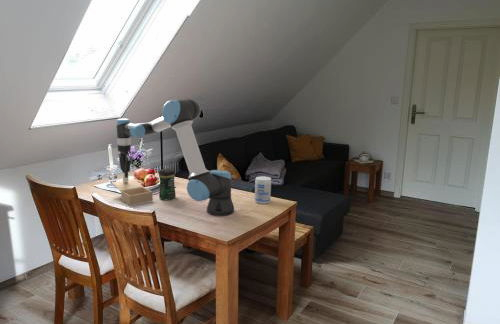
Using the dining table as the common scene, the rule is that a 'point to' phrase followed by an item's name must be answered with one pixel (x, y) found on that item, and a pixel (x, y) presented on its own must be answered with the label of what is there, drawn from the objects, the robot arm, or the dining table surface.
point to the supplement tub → (262, 189)
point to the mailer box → (136, 196)
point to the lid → (127, 185)
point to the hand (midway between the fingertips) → (125, 182)
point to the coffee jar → (167, 184)
